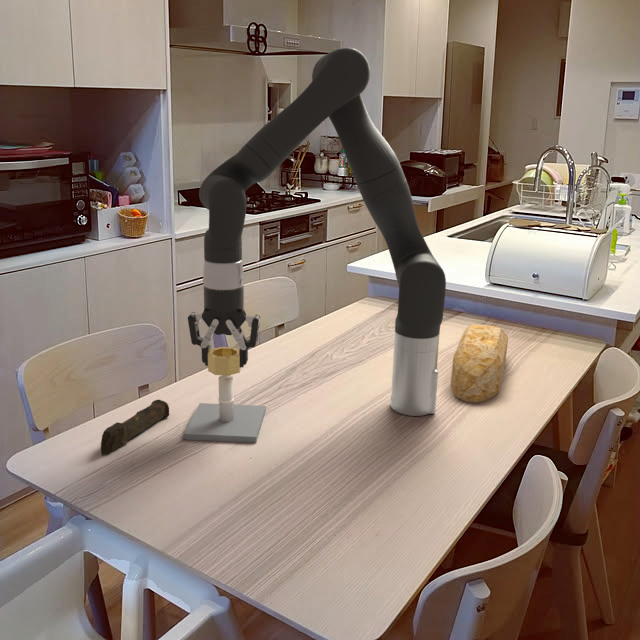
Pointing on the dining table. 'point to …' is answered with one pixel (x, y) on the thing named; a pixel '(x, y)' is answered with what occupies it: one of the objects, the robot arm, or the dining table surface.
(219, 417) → the post base
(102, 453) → the hand tool
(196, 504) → the dining table surface
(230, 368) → the ring
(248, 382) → the dining table surface
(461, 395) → the bread
